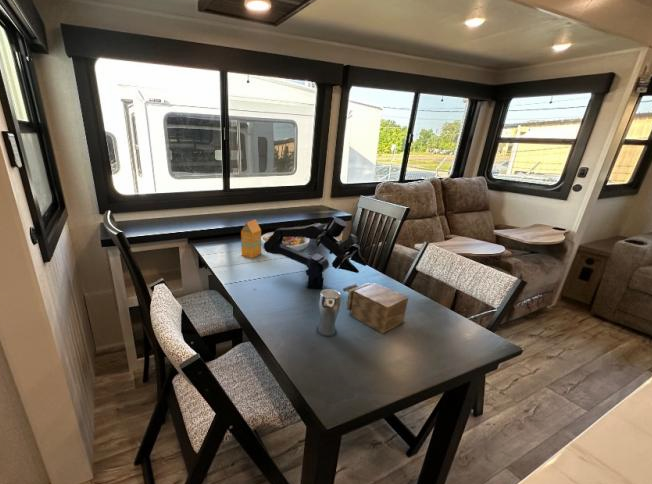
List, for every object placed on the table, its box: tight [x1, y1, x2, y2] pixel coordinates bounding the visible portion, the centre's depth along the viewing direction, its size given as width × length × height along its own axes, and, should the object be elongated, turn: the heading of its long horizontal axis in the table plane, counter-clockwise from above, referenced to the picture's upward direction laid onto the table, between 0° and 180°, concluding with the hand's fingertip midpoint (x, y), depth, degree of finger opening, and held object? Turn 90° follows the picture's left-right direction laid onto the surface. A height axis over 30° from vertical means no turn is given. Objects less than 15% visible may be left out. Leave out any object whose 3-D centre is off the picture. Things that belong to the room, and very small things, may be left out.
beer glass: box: [317, 288, 341, 337], centre depth 107 cm, size 7×7×15 cm
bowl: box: [261, 231, 311, 252], centre depth 193 cm, size 30×30×8 cm
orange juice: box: [240, 218, 262, 259], centre depth 175 cm, size 8×9×20 cm
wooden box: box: [350, 282, 409, 334], centre depth 116 cm, size 15×13×11 cm
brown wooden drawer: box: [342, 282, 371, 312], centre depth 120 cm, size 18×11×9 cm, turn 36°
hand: (362, 268), depth 127 cm, fingers open, 9 cm apart
